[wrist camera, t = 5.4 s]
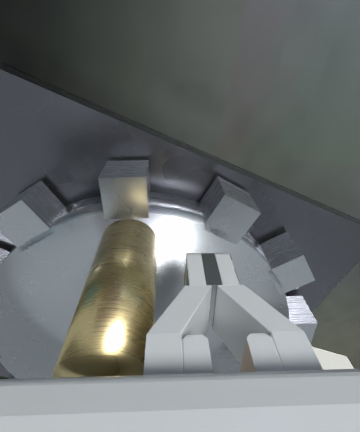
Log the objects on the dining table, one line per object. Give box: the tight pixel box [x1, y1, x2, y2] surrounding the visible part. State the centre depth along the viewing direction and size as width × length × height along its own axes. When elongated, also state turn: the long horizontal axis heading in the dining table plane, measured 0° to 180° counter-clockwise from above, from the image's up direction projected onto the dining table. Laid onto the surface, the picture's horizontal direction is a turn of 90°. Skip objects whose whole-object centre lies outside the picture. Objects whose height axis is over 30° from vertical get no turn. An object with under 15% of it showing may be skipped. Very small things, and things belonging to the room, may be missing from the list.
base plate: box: [0, 63, 360, 377], centre depth 18 cm, size 20×20×1 cm
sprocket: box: [0, 160, 317, 379], centre depth 14 cm, size 19×19×8 cm
